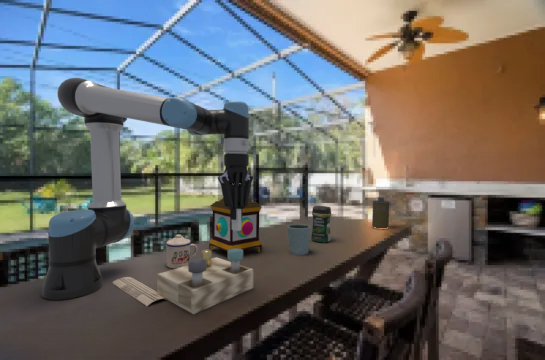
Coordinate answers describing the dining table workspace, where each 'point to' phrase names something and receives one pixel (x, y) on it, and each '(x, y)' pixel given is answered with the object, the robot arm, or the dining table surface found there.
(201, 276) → the grey knob
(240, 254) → the teal knob
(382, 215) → the canister
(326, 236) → the coffee jar
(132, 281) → the newspaper
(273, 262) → the dining table surface
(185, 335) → the dining table surface
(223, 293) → the mount
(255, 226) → the decorative lantern
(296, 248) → the blue cup
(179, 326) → the dining table surface
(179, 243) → the teacup with lid
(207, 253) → the brass post
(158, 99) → the robot arm
